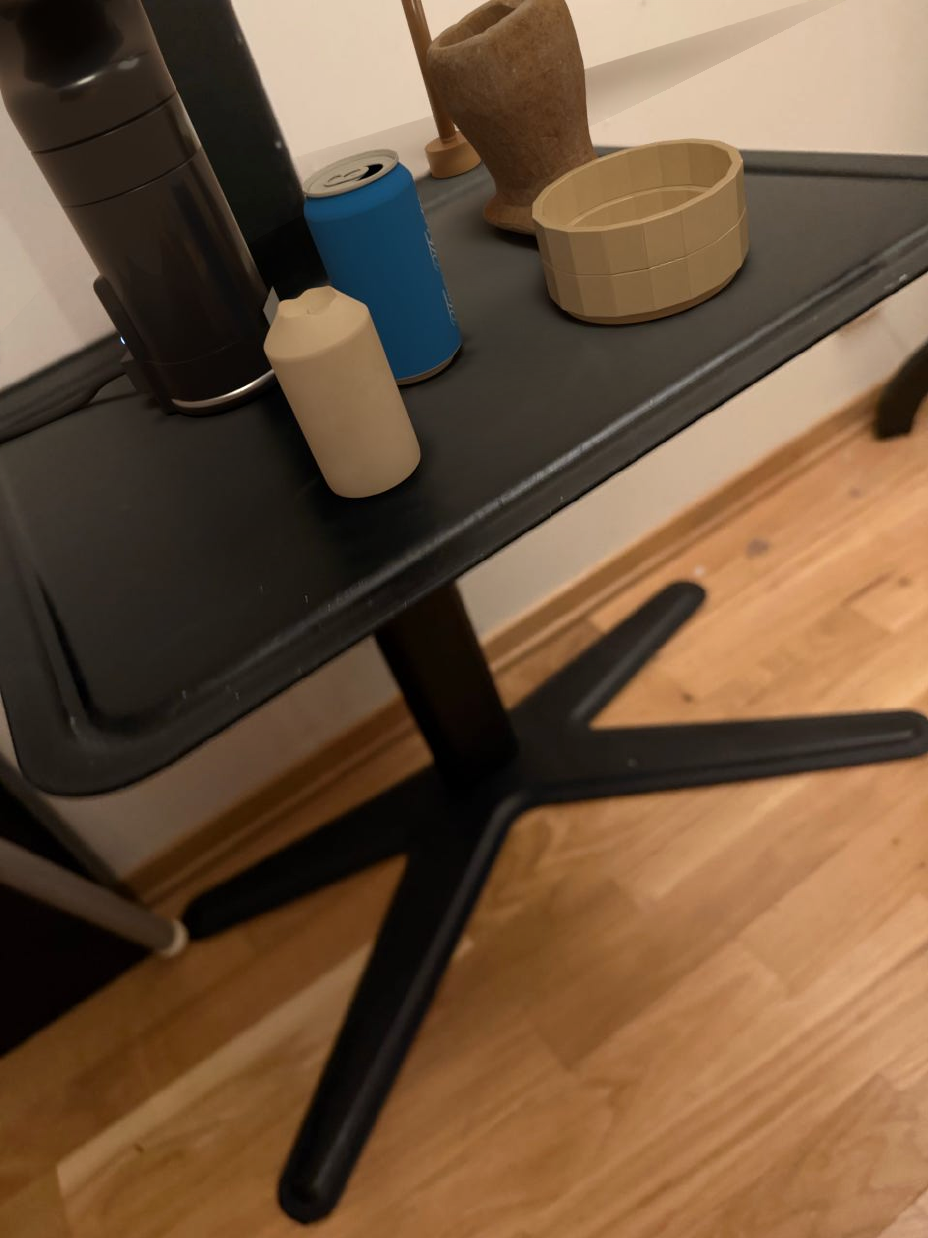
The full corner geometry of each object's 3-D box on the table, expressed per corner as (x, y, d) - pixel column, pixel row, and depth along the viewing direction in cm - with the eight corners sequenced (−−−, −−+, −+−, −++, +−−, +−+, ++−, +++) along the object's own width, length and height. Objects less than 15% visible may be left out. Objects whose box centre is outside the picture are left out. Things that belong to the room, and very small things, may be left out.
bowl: (553, 348, 54) (530, 251, 50) (552, 262, 63) (532, 174, 59) (764, 299, 51) (758, 192, 47) (732, 216, 60) (724, 120, 56)
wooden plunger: (430, 183, 83) (367, -29, 72) (434, 165, 86) (375, -40, 75) (480, 168, 82) (424, -49, 71) (482, 151, 85) (429, -59, 74)
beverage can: (464, 376, 54) (400, 173, 47) (364, 401, 56) (285, 207, 48) (466, 327, 59) (408, 135, 51) (374, 351, 60) (303, 168, 53)
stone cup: (449, 243, 71) (385, 27, 61) (569, 178, 73) (526, -39, 63) (562, 283, 60) (506, 28, 50) (698, 206, 62) (670, -51, 52)
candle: (385, 505, 47) (310, 330, 40) (309, 493, 50) (228, 328, 43) (440, 443, 50) (379, 271, 43) (365, 435, 53) (297, 272, 46)
